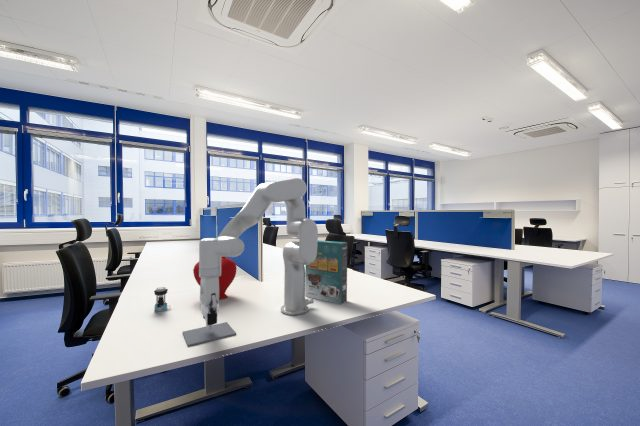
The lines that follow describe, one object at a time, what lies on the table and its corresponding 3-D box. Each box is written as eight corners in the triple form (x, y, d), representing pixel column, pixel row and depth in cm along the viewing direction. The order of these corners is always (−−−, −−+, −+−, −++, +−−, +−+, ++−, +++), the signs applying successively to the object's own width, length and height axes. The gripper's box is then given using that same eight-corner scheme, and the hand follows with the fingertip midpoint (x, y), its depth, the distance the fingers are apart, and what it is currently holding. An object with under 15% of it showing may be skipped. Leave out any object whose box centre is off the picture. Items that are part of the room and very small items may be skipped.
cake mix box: (346, 300, 137) (347, 242, 138) (341, 304, 132) (341, 243, 132) (311, 293, 149) (312, 239, 149) (305, 296, 144) (305, 240, 144)
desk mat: (226, 323, 108) (226, 321, 108) (236, 334, 98) (236, 333, 98) (182, 333, 99) (182, 331, 99) (187, 346, 89) (187, 344, 89)
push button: (171, 307, 126) (171, 285, 126) (170, 311, 121) (170, 288, 121) (154, 309, 123) (155, 287, 123) (152, 313, 118) (153, 290, 118)
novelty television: (226, 290, 153) (226, 238, 153) (240, 294, 146) (241, 239, 146) (190, 299, 136) (191, 240, 136) (204, 305, 129) (205, 242, 129)
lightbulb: (207, 334, 94) (207, 302, 94) (196, 329, 97) (196, 299, 97) (222, 327, 99) (222, 298, 99) (211, 323, 103) (212, 295, 103)
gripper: (194, 268, 103) (194, 315, 103) (204, 278, 89) (204, 332, 89) (215, 266, 108) (214, 311, 108) (227, 275, 93) (227, 326, 93)
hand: (209, 320), depth 98 cm, fingers closed on lightbulb, 6 cm apart
